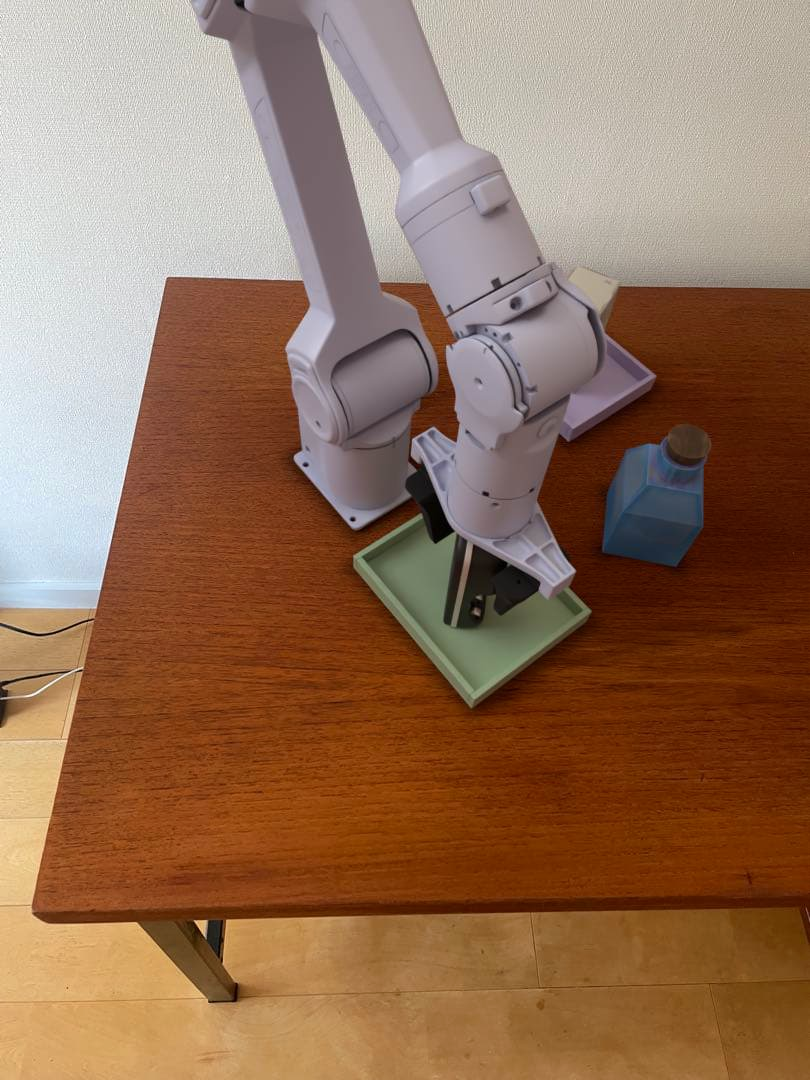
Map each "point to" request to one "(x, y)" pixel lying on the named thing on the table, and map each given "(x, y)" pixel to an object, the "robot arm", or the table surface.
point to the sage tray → (462, 653)
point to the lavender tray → (606, 391)
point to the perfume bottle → (658, 498)
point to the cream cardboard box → (596, 290)
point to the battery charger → (470, 583)
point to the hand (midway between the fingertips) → (474, 569)
